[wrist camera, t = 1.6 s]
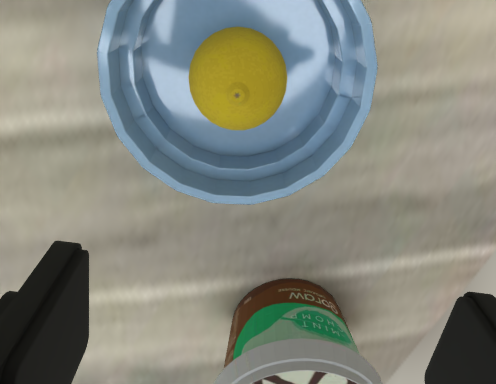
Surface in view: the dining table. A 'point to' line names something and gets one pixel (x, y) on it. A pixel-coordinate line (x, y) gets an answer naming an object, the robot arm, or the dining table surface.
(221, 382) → the food container
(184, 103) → the bowl
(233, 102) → the lemon
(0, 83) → the dining table surface
